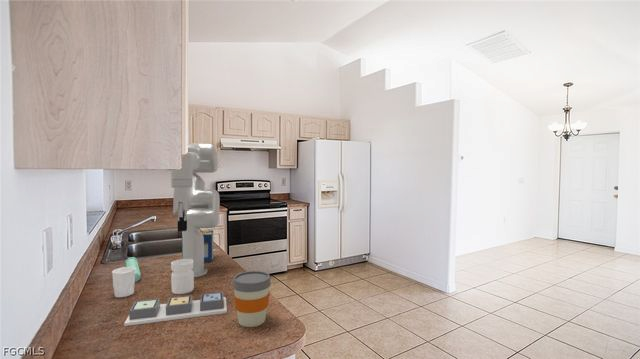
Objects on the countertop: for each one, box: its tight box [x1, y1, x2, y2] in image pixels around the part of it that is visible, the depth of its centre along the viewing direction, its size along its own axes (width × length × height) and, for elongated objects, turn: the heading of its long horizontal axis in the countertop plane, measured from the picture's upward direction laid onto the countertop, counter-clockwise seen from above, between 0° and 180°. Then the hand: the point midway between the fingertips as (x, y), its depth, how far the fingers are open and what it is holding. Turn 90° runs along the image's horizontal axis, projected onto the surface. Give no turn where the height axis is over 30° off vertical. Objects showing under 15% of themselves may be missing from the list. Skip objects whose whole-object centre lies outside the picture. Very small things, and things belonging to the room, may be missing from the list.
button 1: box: [133, 300, 156, 310], centre depth 110 cm, size 6×6×3 cm
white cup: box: [111, 266, 136, 298], centre depth 128 cm, size 8×8×10 cm
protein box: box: [181, 229, 214, 263], centre depth 175 cm, size 10×15×16 cm
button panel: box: [123, 291, 228, 327], centre depth 114 cm, size 12×32×4 cm, turn 108°
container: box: [124, 256, 141, 283], centre depth 151 cm, size 6×6×25 cm
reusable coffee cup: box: [232, 270, 271, 328], centre depth 108 cm, size 13×13×15 cm
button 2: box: [169, 296, 189, 306], centre depth 114 cm, size 6×6×3 cm
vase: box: [170, 258, 195, 295], centre depth 133 cm, size 9×9×12 cm
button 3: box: [203, 293, 221, 302], centre depth 117 cm, size 6×6×3 cm
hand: (182, 230), depth 123 cm, fingers closed
